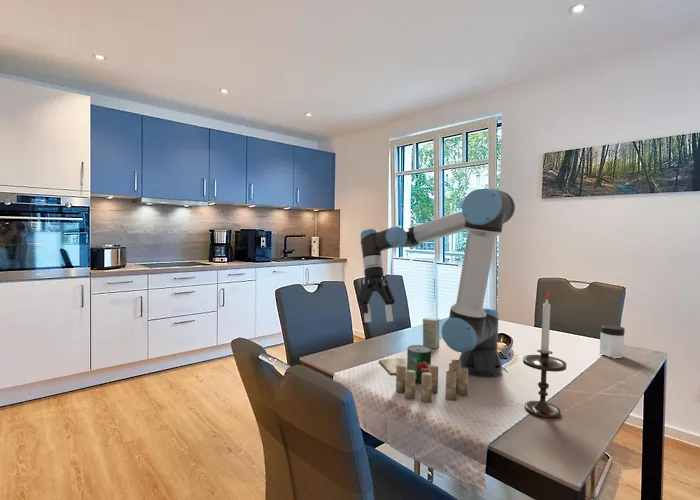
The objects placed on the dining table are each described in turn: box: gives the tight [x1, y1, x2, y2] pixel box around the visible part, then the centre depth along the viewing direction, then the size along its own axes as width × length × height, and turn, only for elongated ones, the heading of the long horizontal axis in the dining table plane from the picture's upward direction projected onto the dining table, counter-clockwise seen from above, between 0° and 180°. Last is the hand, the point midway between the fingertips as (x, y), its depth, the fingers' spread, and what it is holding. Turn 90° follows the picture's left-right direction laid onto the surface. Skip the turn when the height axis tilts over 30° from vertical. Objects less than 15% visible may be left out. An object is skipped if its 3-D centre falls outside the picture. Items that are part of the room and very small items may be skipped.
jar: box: [599, 324, 626, 358], centre depth 159 cm, size 9×8×12 cm
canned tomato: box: [406, 344, 432, 386], centre depth 130 cm, size 8×8×11 cm
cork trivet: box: [378, 357, 407, 376], centre depth 143 cm, size 14×14×1 cm
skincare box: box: [422, 317, 440, 349], centre depth 168 cm, size 6×4×12 cm
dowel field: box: [395, 359, 469, 404], centre depth 120 cm, size 22×15×8 cm
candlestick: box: [522, 289, 567, 420], centre depth 108 cm, size 11×11×35 cm
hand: (379, 321), depth 148 cm, fingers open, 13 cm apart
